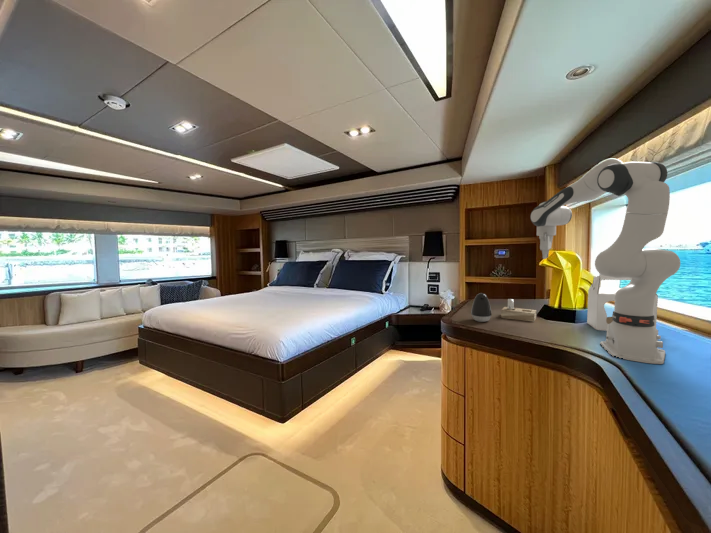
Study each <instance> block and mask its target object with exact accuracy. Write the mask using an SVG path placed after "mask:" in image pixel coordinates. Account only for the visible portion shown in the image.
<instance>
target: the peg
mask: <svg viewBox="0 0 711 533" xmlns="http://www.w3.org/2000/svg"><path fill="white" fill-rule="evenodd" d="M514 302H515V300H514V299H513V298H508V299H507V307H508V310H514V308H515V306H514V305H515V303H514Z"/></svg>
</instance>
